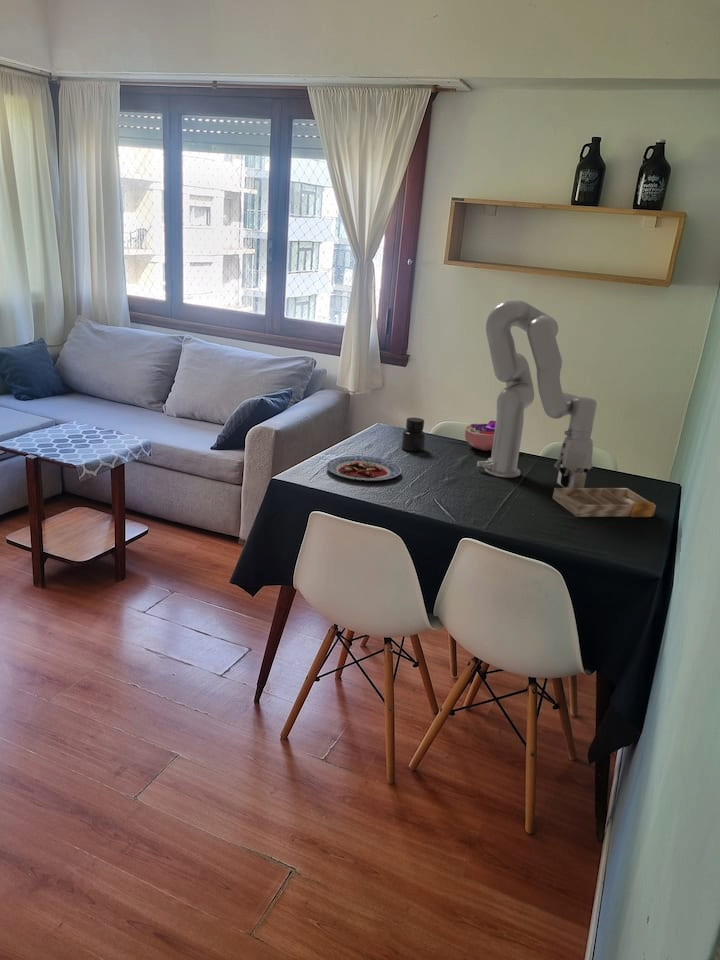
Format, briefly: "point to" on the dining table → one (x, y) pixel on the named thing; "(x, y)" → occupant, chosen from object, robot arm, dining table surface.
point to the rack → (603, 502)
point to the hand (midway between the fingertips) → (570, 485)
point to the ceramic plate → (363, 468)
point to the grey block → (573, 478)
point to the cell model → (481, 435)
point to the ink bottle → (414, 435)
